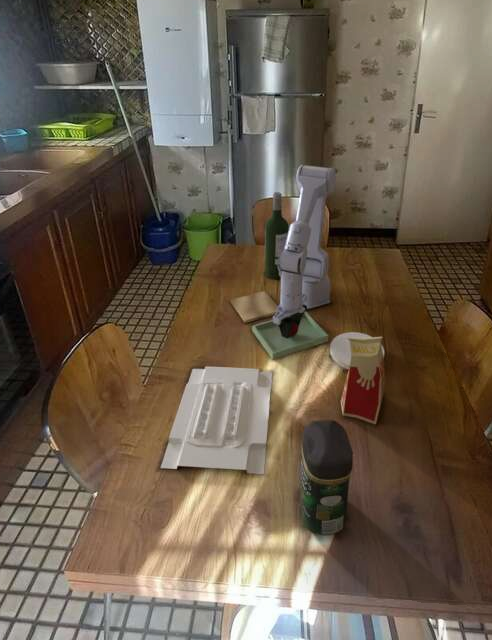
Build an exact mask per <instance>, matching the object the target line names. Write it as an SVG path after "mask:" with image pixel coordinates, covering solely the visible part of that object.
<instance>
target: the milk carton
mask: <svg viewBox="0 0 492 640" xmlns="http://www.w3.org/2000/svg"><path fill="white" fill-rule="evenodd" d="M347 339H348V340H350V348H351V362H350V366H349V370H347V374H346V379H345V383H344V386H343V390H342V394H341V398H340V406H341V412H342V416H344V417H349V418H350V417H351V418H356V419H359V420H362V421H365V422H367V423H370V424H373V425H376V424H377V421H378V417H379V414H380V410H381V406H382V401H383V395H384V389H385V382H386V381H385V380H386V379H385V357H384V358H383V352H382V347H383V345H382V339H383V336H374V337H373V336H372V338H347Z"/></svg>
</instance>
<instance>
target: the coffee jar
mask: <svg viewBox="0 0 492 640" xmlns="http://www.w3.org/2000/svg"><path fill="white" fill-rule="evenodd" d="M353 455H354V451H353V449H352V444H351V442H350V439H349V435H348V434H347V430H346V429H345V428H344V427H343V425H342V424H340V423H339V422H338V421H336V420H335V419H319V420H313V421H311V422H309V424H307V425H306V426H305V427H304V430H303V432H302V438H301V457H300V458H301V461H300V478H299V479H300V482H299V507H300V513H301V516H302V521H303V523H304V526H305V528H306V529H307V531H309V532H310V533H312V534H314V535H319V536H328V535H333V534H336V533H339V532H341V531H342V530H343V529H344V527H345V525H346V521H347V510H348V499H349V488H350V478H351V474H352V472H353V467H354V456H353Z"/></svg>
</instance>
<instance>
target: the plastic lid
mask: <svg viewBox="0 0 492 640" xmlns="http://www.w3.org/2000/svg"><path fill="white" fill-rule="evenodd" d="M347 338H373V336H371V335H369V334H367V333H362V332H357V331H356V332H355V331H349V332H343V333H340V334H338V335H336V336H335V337H334V338H333V339H332V340H331V342H330V348H329V353H330V357H331V359H332V360H333V362H335V364H337V365H338V366H340V367H341V368H343V369H345V370H347V371H348V370H349V366H350V362H351V348H350V340H348V339H347ZM382 352H383V358H384V359H385V348H384V346H382Z"/></svg>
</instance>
